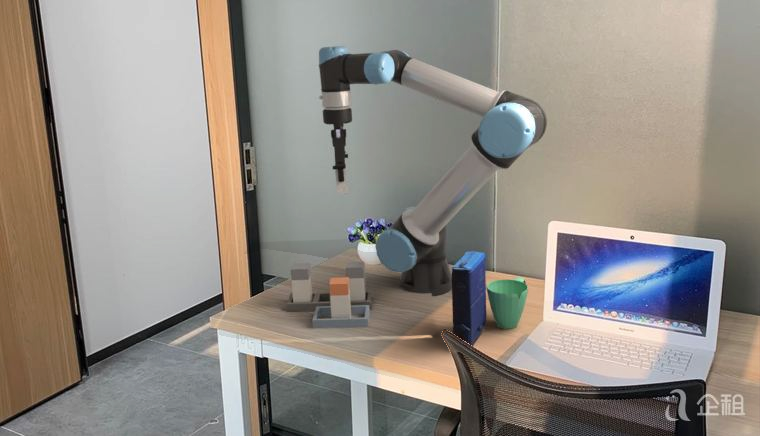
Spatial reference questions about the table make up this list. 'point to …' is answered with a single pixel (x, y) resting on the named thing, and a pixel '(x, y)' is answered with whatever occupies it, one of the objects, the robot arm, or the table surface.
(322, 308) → the tray
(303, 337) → the table surface
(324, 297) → the block
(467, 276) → the book
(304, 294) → the block
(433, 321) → the table surface
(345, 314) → the block
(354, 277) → the block
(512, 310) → the mug
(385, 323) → the table surface
